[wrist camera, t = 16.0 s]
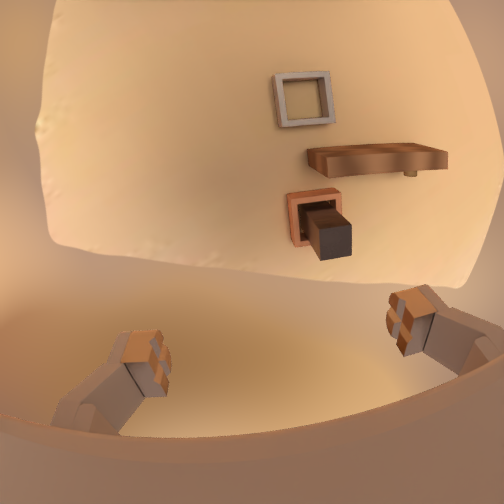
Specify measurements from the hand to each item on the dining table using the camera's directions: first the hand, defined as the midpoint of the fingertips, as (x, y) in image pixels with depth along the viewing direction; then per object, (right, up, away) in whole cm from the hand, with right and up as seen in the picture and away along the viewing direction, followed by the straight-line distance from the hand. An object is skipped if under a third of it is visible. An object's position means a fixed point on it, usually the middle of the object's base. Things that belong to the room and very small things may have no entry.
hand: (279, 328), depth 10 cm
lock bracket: (+8, +8, +34) cm, 36 cm away
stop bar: (+8, +8, +34) cm, 36 cm away
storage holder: (+6, +23, +26) cm, 36 cm away
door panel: (+16, +17, +30) cm, 38 cm away
